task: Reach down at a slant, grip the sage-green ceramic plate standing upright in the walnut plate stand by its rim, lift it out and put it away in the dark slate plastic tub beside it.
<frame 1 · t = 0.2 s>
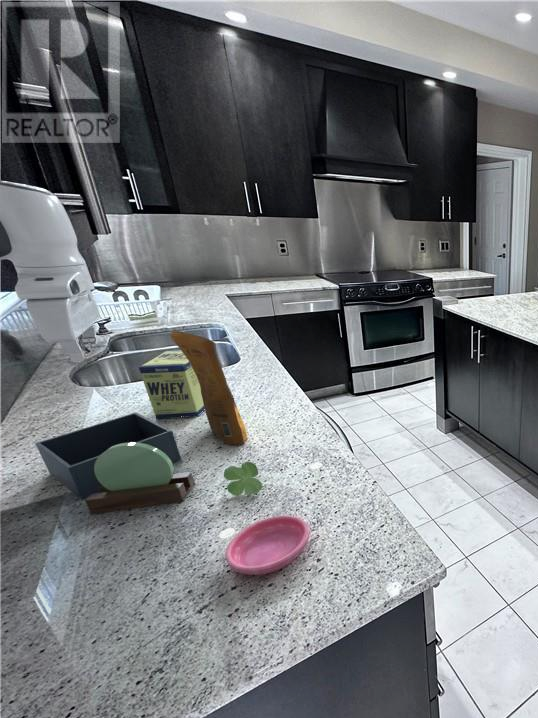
hand: (85, 352, 79), 28 cm above the countertop, tool pointing down, fingers open, 8 cm apart
protein box: (190, 407, 119), on the countertop
plate: (135, 470, 79), point 7 cm above the countertop, touching plate stand
tub: (118, 466, 91), on the countertop
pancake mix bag: (226, 436, 105), on the countertop
plate stand: (146, 498, 82), on the countertop
saucer: (272, 554, 70), on the countertop
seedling: (252, 487, 87), on the countertop
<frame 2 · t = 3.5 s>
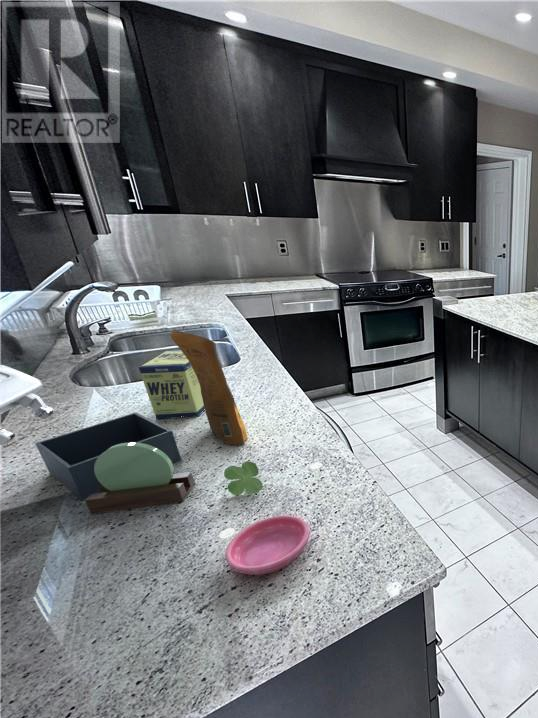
hand: (31, 427, 72), 18 cm above the countertop, tool tilted 45°, fingers open, 8 cm apart
nothing on the countertop moved.
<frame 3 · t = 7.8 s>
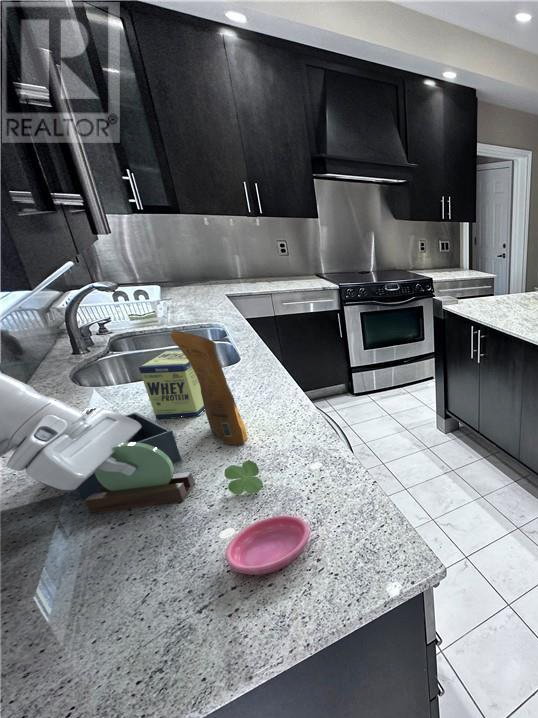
hand: (138, 467, 79), 7 cm above the countertop, tool tilted 45°, fingers closed on plate, 1 cm apart
plate: (135, 470, 79), point 7 cm above the countertop, touching gripper, plate stand
everything else where it was.
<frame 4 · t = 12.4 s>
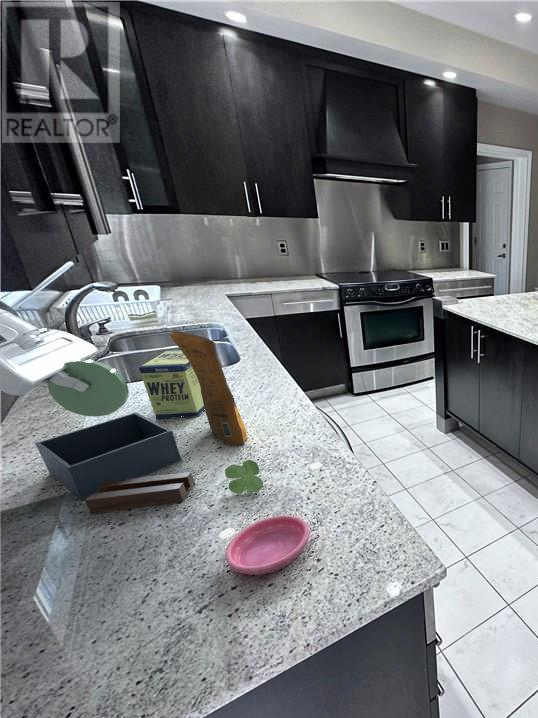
hand: (92, 385, 81), 21 cm above the countertop, tool tilted 45°, fingers closed on plate
plate: (89, 388, 81), point 21 cm above the countertop, touching gripper
everything else where it was.
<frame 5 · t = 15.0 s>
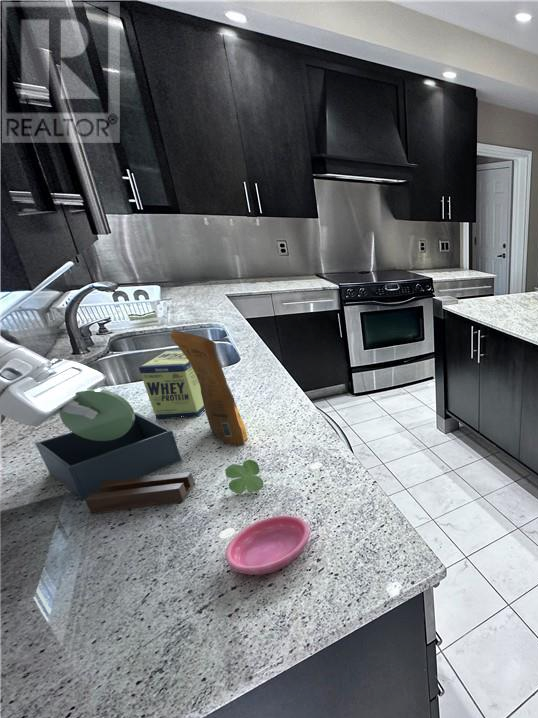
hand: (100, 412, 86), 14 cm above the countertop, tool tilted 45°, fingers closed on plate
plate: (98, 415, 86), point 13 cm above the countertop, touching gripper
everything else where it was.
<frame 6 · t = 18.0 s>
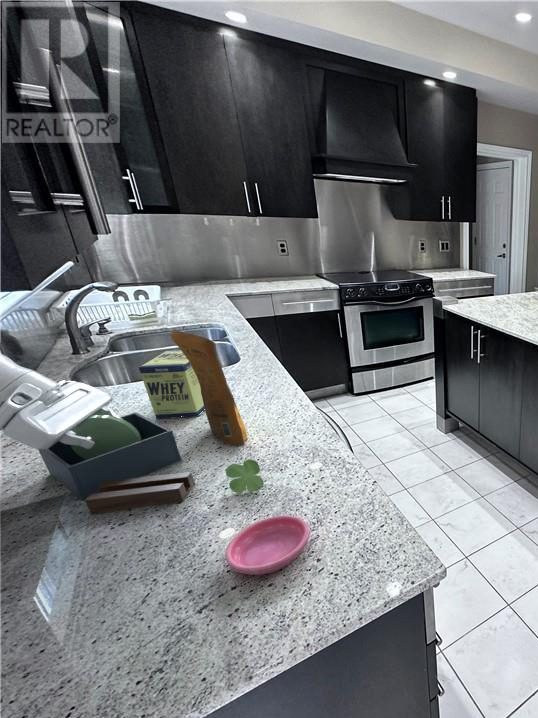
hand: (107, 434, 88), 8 cm above the countertop, tool tilted 45°, fingers open, 8 cm apart
plate: (106, 440, 89), point 7 cm above the countertop, touching tub
everything else where it was.
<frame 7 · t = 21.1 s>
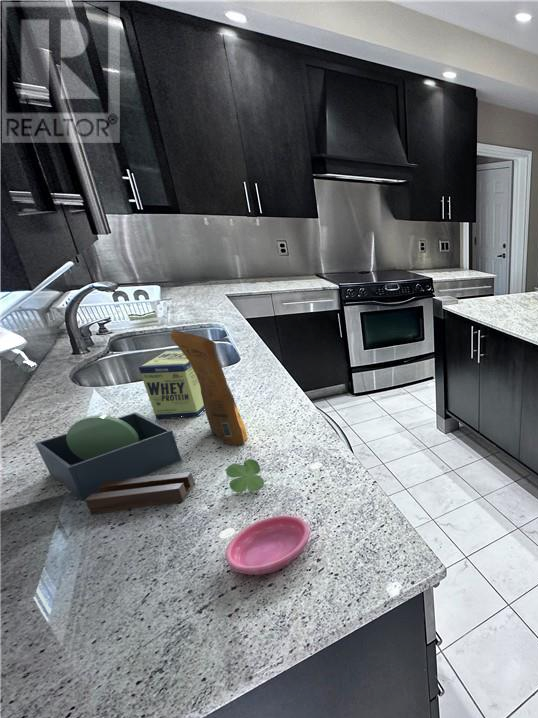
hand: (14, 377, 79), 23 cm above the countertop, tool tilted 45°, fingers open, 8 cm apart
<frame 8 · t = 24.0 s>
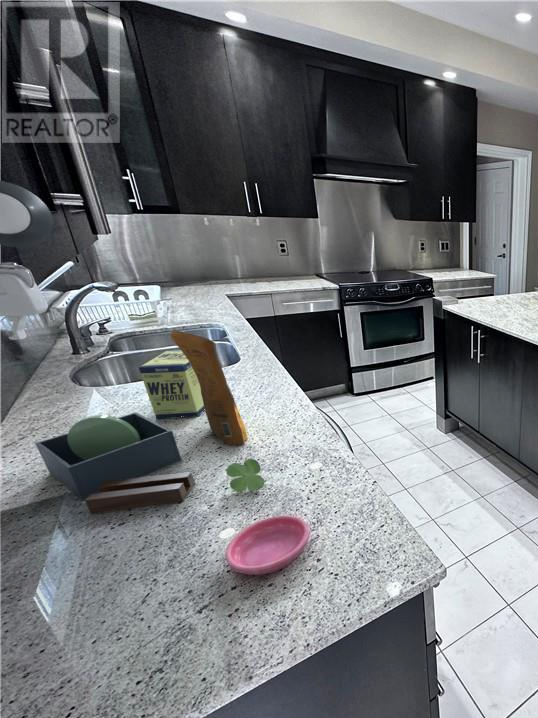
at the end: plate inside the target area in the tub (0.5 cm from its centre), point 6.8 cm above the tub's base; the gripper is holding nothing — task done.
